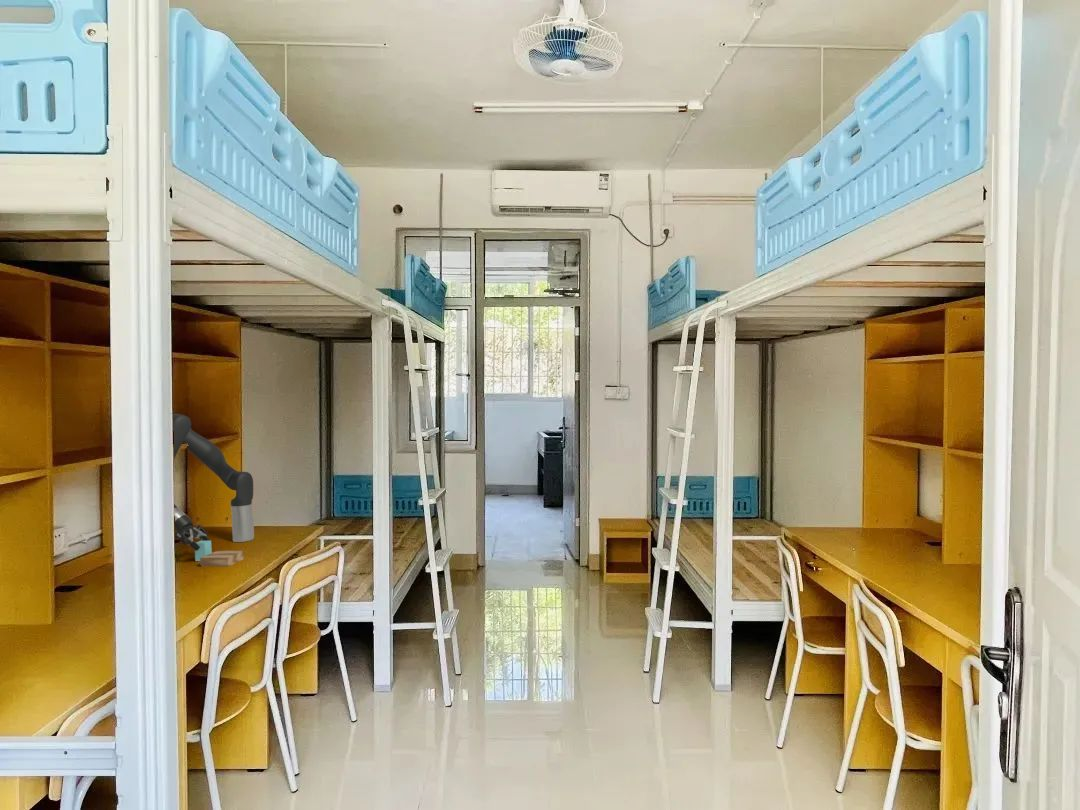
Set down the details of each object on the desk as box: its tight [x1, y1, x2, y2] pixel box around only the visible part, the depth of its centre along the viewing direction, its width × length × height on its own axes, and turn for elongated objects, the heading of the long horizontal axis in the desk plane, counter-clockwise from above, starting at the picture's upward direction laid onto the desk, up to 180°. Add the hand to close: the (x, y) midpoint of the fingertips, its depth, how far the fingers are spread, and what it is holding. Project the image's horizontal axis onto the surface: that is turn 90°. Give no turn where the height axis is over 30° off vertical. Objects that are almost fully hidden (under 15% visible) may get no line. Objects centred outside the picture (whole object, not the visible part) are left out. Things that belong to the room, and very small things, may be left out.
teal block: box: [194, 540, 213, 561], centre depth 285 cm, size 5×5×8 cm
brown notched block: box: [199, 550, 245, 568], centre depth 280 cm, size 12×12×4 cm
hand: (204, 546), depth 284 cm, fingers open, 8 cm apart
